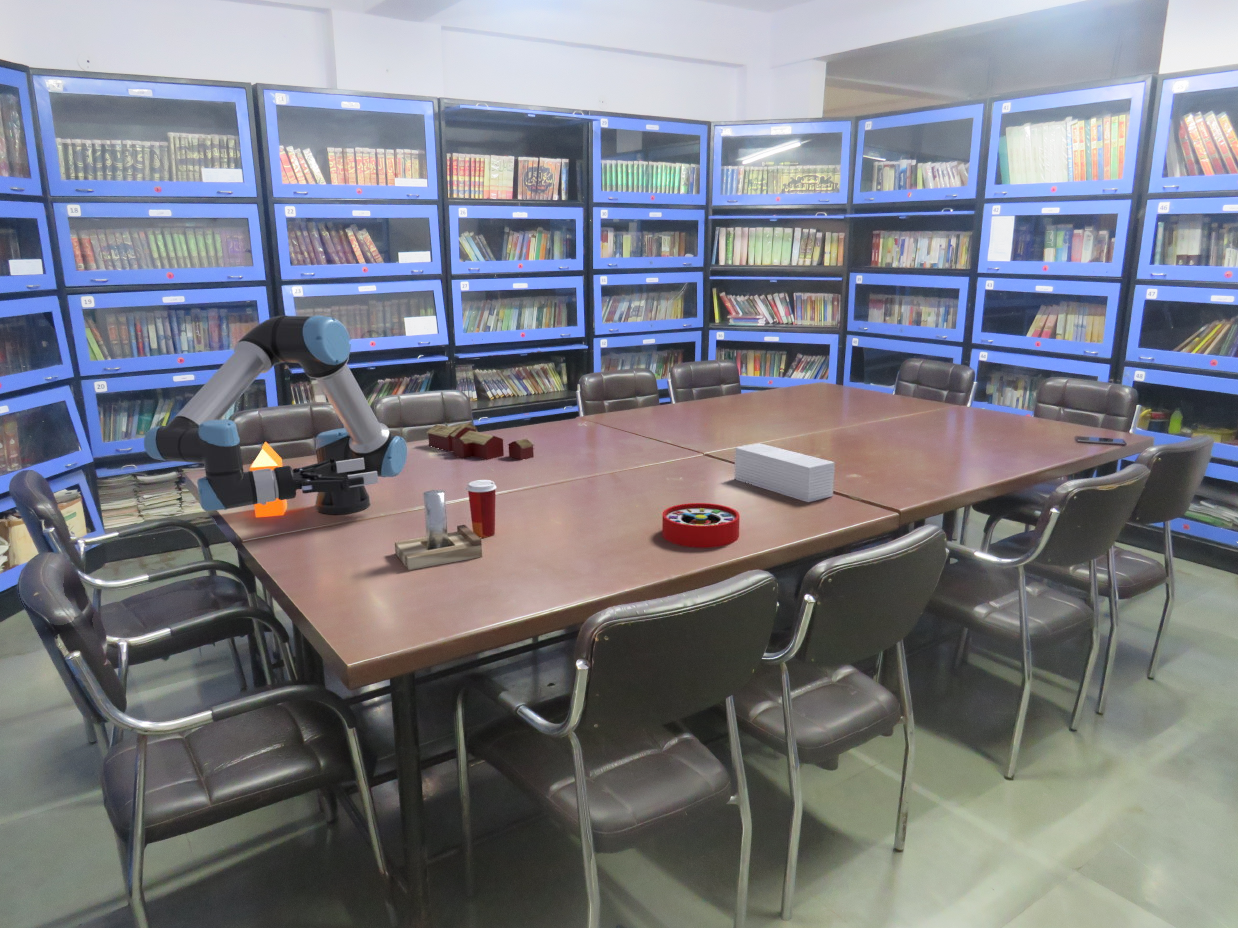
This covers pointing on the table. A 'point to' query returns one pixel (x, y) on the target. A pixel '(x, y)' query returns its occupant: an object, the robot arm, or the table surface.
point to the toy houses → (476, 443)
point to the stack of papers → (785, 472)
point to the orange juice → (271, 460)
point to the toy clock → (700, 525)
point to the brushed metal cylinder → (435, 519)
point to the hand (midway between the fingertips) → (370, 470)
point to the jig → (439, 549)
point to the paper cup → (482, 507)
